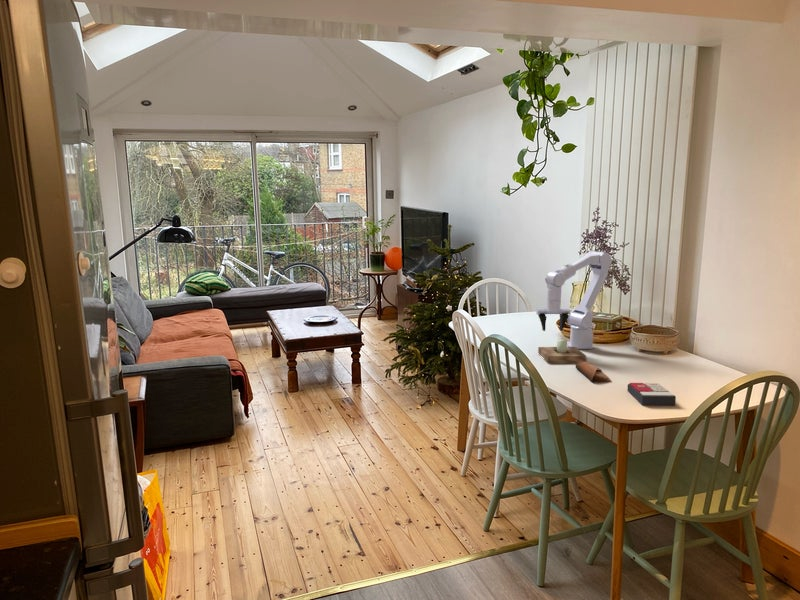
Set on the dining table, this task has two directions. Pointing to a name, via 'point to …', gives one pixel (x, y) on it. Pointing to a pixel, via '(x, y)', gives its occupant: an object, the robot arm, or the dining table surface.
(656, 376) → the dining table surface
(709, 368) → the dining table surface
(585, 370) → the brown pointed cylinder
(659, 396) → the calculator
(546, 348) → the peg board
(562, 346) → the peg
